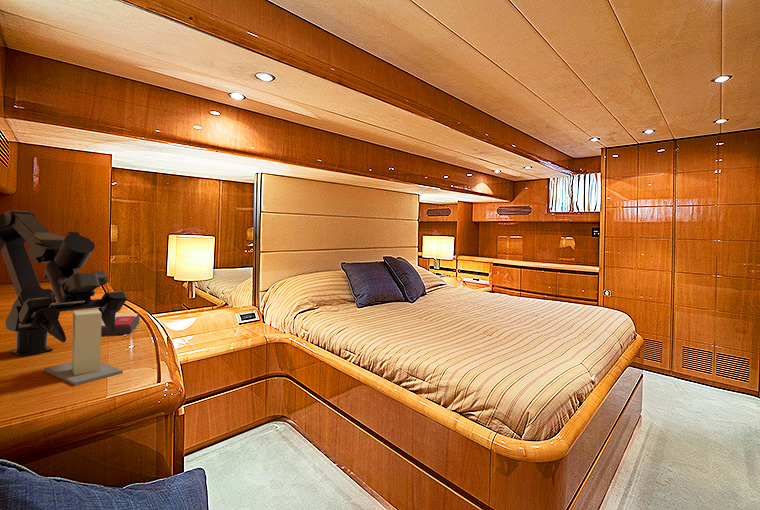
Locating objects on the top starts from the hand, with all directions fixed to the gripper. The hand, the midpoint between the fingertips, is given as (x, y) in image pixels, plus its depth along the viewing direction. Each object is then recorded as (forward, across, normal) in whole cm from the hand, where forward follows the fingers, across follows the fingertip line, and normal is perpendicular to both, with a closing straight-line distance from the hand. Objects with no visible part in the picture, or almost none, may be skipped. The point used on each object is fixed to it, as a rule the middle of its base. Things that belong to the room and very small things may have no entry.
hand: (90, 336), depth 82 cm
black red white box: (-19, +23, +32) cm, 43 cm away
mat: (+4, 0, +8) cm, 9 cm away
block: (+4, 0, +6) cm, 8 cm away
